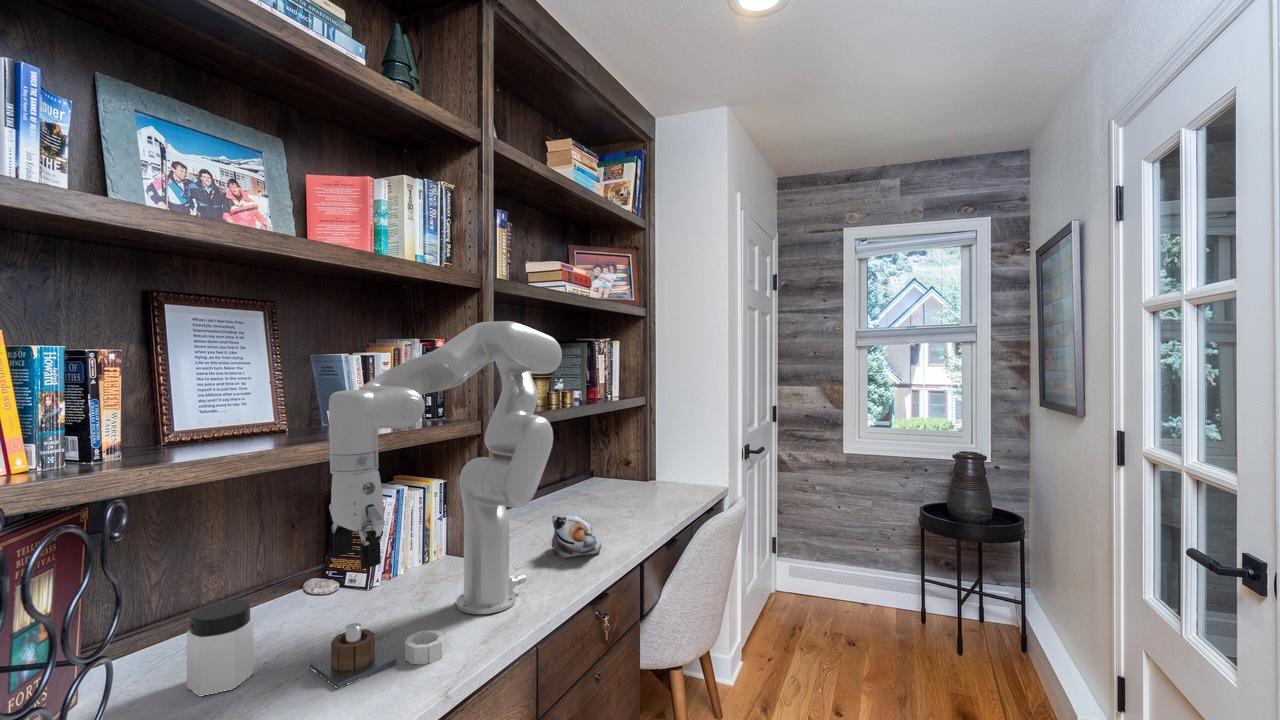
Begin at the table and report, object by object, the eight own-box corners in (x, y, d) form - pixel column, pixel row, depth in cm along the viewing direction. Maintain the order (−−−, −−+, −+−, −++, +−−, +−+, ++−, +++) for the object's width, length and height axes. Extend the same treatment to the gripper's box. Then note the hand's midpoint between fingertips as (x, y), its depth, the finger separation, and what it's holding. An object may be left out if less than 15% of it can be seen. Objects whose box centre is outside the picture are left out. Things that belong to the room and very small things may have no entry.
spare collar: (430, 643, 112) (430, 627, 112) (451, 653, 108) (451, 637, 108) (398, 656, 107) (399, 639, 107) (418, 668, 103) (418, 650, 103)
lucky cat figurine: (611, 550, 166) (611, 512, 159) (583, 578, 157) (582, 540, 150) (569, 526, 173) (568, 490, 166) (541, 552, 164) (538, 515, 157)
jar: (215, 667, 103) (215, 598, 102) (262, 668, 102) (262, 598, 102) (174, 697, 94) (174, 621, 94) (226, 698, 94) (226, 621, 93)
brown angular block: (362, 648, 108) (362, 626, 108) (380, 659, 104) (380, 636, 104) (325, 662, 103) (325, 639, 103) (343, 674, 99) (343, 650, 99)
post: (367, 646, 110) (367, 608, 110) (395, 664, 104) (396, 624, 104) (310, 668, 102) (310, 628, 102) (337, 689, 96) (337, 646, 96)
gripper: (401, 464, 101) (403, 565, 101) (351, 453, 111) (353, 544, 112) (357, 472, 95) (359, 579, 95) (309, 459, 105) (311, 555, 106)
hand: (356, 560), depth 103 cm, fingers open, 9 cm apart
